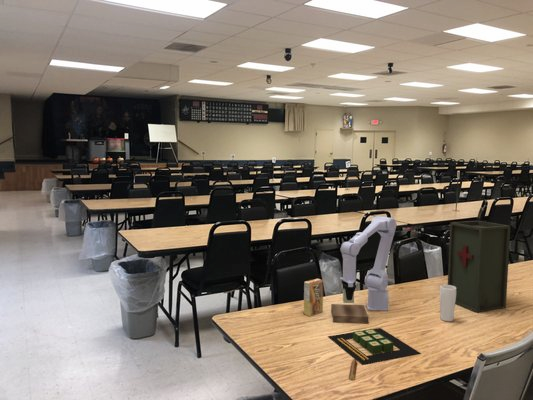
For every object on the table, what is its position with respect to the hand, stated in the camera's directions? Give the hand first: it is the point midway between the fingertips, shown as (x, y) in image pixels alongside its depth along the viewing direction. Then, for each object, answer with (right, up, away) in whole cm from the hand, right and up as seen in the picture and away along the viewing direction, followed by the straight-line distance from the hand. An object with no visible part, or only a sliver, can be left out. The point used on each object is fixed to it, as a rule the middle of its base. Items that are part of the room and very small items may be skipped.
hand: (348, 297), depth 192 cm
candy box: (-15, -8, +4) cm, 18 cm away
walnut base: (0, -9, 0) cm, 8 cm away
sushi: (+3, -12, -29) cm, 32 cm away
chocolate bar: (-8, -14, -49) cm, 52 cm away
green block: (0, -2, 0) cm, 2 cm away
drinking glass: (+43, -9, -4) cm, 44 cm away
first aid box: (+66, -7, +17) cm, 68 cm away
